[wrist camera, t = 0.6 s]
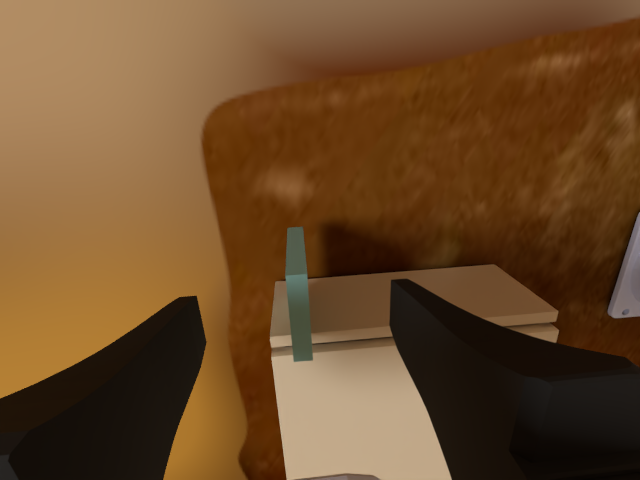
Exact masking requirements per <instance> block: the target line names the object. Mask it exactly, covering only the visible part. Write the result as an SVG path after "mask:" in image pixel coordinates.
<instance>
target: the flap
mask: <svg viewBox="0 0 640 480" xmlns="http://www.w3.org/2000/svg"><path fill="white" fill-rule="evenodd" d="M285 276H286V281H277V282H276V283H275V292H274V302H273V311H272V321H271V331H270V342H271V347H282V346H292V349H293V360H294V362H300V361H311V360H313V352H312V344H315V343H326V342H337V341H348V340H359V339H370V338H381V337H392V336H393V335H392V332H391V329H390V326H389V320H390V291H391V280H394V279H406V278H407V279H409V280H411V281H413V282H415V283H417V284H418V285H420V286H422V287H424V288H425V289H427V290H429V291H430V292H432V293H434V294H436V295H437V296H439V297H441V298H443V299H444V300H446V301H448V302H450V303H452V304H454V305H456V306H457V307H459V308H461V309H463V310H465V311H468V312H470V313H472V314H474V315H476V316H478V317H480V318H483V319H485V320H488V321H490V322H493V323H495V324H497V325H500V326H513V325H524V324H535V323H546V322H556V319H557V315H558V312H559V311H558V310H556V309H555V308H553V307H552V306H551V305H549V304H548V303H547V302H545V301H544V300H543V299H541V298H540V297H538V296H537V295H536V294H534V293H533V292H532V291H530V290H529V289H528V288H526V287H525V286H523V285H522V284H521V283H519V282H518V281H517V280H515V279H514V278H512V277H511V276H510V275H508V274H507V273H506V272H504V271H503V270H502V269H500V268H499V267H497V266H496V265H495V264H491V265H478V266H466V267H453V268H440V269H428V270H415V271H403V272H390V273H377V274H365V275H352V276H340V277H327V278H314V279H307V268H306V257H305V246H304V235H303V227H294V228H288V231H287V253H286V274H285Z"/></svg>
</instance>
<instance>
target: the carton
mask: <svg viewBox="0 0 640 480" xmlns="http://www.w3.org/2000/svg"><path fill="white" fill-rule="evenodd" d="M503 327H505V328H508V329H511V330H514V331H517V332H520V333H523V334H526V335H529V336H532V337H536V338H539V339H543V340H546V341H550V342H554V343H556V341H557V337H558V333H559V330H558V329H557V328H556V327H554V326H553V325H552V324H551V323H549V322H546V323H535V324H524V325H513V326H503ZM312 352H313V360H311V361H300V362H294V360H293V349H292V346H282V347H272V356H271V357H272V365H273V373H274V381H275V389H276V397H277V405H278V413H279V421H280V429H281V437H282V445H283V453H284V460H285V468H286V476H287V480H293V479H302V478H310V477H319V476H327V475H336V474H344V473H350V474H365V475H374V476H376V477H377V478H379V479H381V480H452V479H451V476H450V473H449V470H448V467H447V464H446V461H445V458H444V456H443V453H442V450H441V447H440V444H439V441H438V439H437V436H436V433H435V431H434V428H433V425H432V422H431V420H430V417H429V414H428V412H427V410H426V407H425V405H424V403H423V401H422V398H421V396H420V394H419V392H418V390H417V388H416V386H415V384H414V382H413V380H412V378H411V376H410V374H409V372H408V370H407V368H406V366H405V364H404V362H403V360H402V358H401V356H400V354H399V352H398V350H397V347H396V344H395V341H394V339H393V336H392V337H381V338H370V339H359V340H348V341H337V342H326V343H315V344H312Z"/></svg>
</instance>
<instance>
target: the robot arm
mask: <svg viewBox="0 0 640 480" xmlns="http://www.w3.org/2000/svg"><path fill="white" fill-rule="evenodd" d="M608 315H610V316H611V317H613V318H625V317H636V316H640V212H639V214H638V216H637V219H636V222H635V226H634V229H633V232H632V235H631V238H630V241H629V244H628V248H627V251H626V254H625V257H624V260H623V263H622V267H621V270H620V273H619V276H618V279H617V282H616V286H615V289H614V292H613V295H612V298H611V301H610V304H609V308H608ZM389 326H390V329H391V332H392V335H393V339H394V341H395V344H396V347H397V350H398V352H399V354H400V356H401V358H402V360H403V362H404V364H405V366H406V368H407V370H408V372H409V374H410V376H411V378H412V380H413V382H414V384H415V386H416V388H417V390H418V392H419V394H420V396H421V398H422V401H423V403H424V405H425V407H426V410H427V412H428V414H429V417H430V420H431V422H432V425H433V428H434V431H435V433H436V436H437V439H438V441H439V444H440V447H441V450H442V453H443V456H444V458H445V461H446V464H447V467H448V470H449V473H450V476H451V479H452V480H640V368H639V367H638V366H636V365H635V364H634V363H632V362H631V361H630V360H628V359H627V358H625V357H621V356H616V355H611V354H605V353H600V352H595V351H589V350H584V349H579V348H574V347H570V346H566V345H562V344H558V343H554V342H550V341H546V340H543V339H539V338H536V337H532V336H529V335H526V334H523V333H520V332H517V331H514V330H511V329H508V328H505V327H503V326H500V325H497V324H495V323H493V322H490V321H488V320H485V319H483V318H480V317H478V316H476V315H474V314H472V313H470V312H468V311H465V310H463V309H461V308H459V307H457V306H456V305H454V304H452V303H450V302H448V301H446V300H444V299H443V298H441V297H439V296H437V295H436V294H434V293H432V292H430V291H429V290H427V289H425V288H424V287H422V286H420V285H418V284H417V283H415V282H413V281H411V280H409V279H407V278H406V279H394V280H391V291H390V320H389ZM205 346H206V338H205V334H204V328H203V324H202V319H201V314H200V310H199V305H198V301H197V296H188V297H179V298H177V299H176V300H174V301H172V302H171V303H169V304H168V305H167V306H165V307H164V308H162V309H161V310H160V311H158V312H157V313H156V314H154V315H153V316H151V317H150V318H148V319H147V320H146V321H144V322H143V323H141V324H140V325H139V326H137V327H136V328H134V329H133V330H131V331H130V332H128V333H127V334H125V335H124V336H122V337H120V338H119V339H118V340H116V341H115V342H113V343H111V344H110V345H108V346H107V347H105V348H103V349H102V350H100V351H98V352H97V353H95V354H93V355H91V356H89V357H88V358H86V359H84V360H82V361H81V362H79V363H77V364H75V365H73V366H71V367H69V368H67V369H65V370H63V371H61V372H59V373H57V374H55V375H53V376H50V377H48V378H46V379H45V380H42V381H40V382H38V383H36V384H34V385H31V386H29V387H27V388H24V389H22V390H20V391H17V392H15V393H13V394H10V395H8V396H5V397H3V398H1V399H0V480H163V478H164V474H165V469H166V466H167V462H168V458H169V455H170V451H171V448H172V444H173V440H174V437H175V434H176V431H177V428H178V425H179V423H180V420H181V418H182V415H183V412H184V410H185V407H186V404H187V402H188V399H189V397H190V394H191V392H192V389H193V386H194V384H195V381H196V378H197V376H198V373H199V370H200V368H201V364H202V359H203V355H204V350H205ZM293 480H381V479H379V478H377V477H376V476H374V475H365V474H350V473H344V474H336V475H327V476H319V477H310V478H302V479H293Z"/></svg>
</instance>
